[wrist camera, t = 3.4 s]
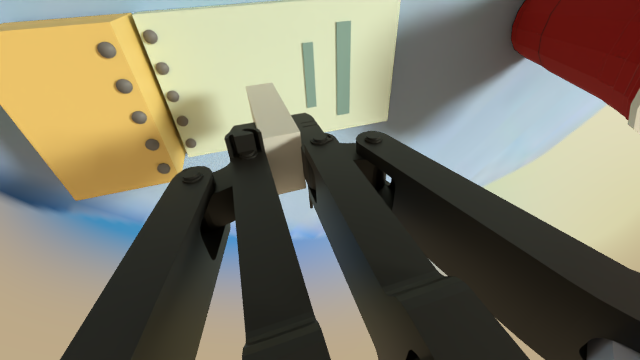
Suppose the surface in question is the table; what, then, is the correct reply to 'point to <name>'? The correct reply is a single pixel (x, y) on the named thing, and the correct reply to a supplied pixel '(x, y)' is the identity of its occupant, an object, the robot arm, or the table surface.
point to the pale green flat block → (272, 62)
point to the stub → (89, 103)
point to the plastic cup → (586, 47)
